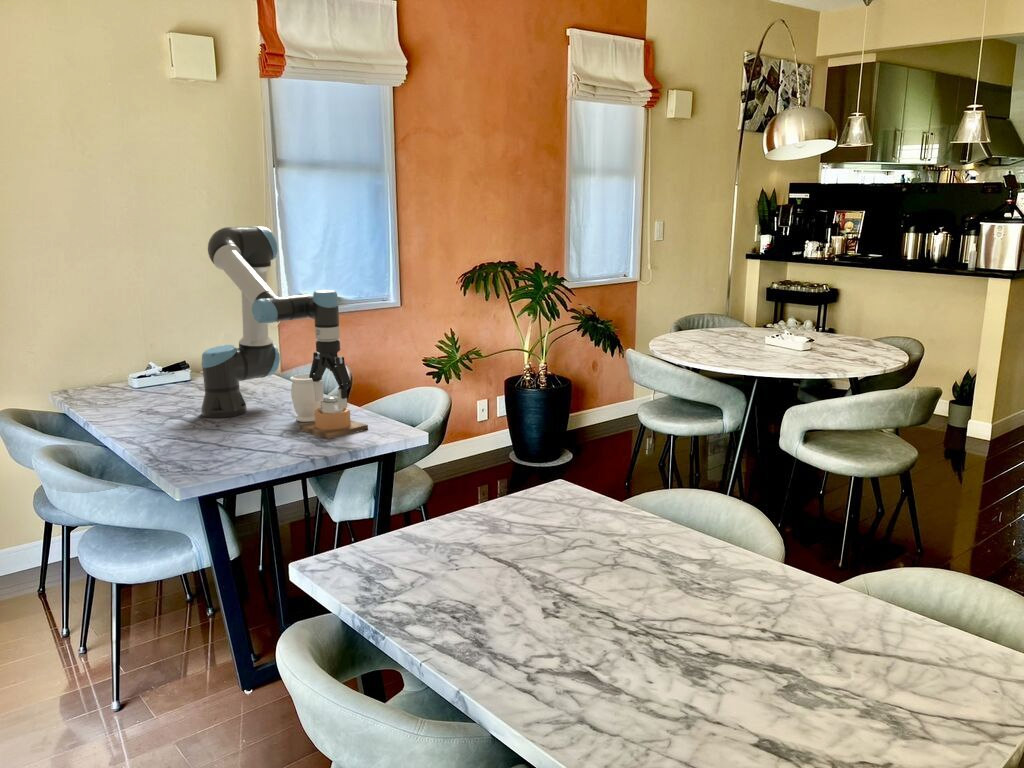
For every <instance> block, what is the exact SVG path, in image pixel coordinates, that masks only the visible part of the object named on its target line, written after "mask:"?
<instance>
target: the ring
mask: <svg viewBox="0 0 1024 768" xmlns="http://www.w3.org/2000/svg"><path fill="white" fill-rule="evenodd" d="M351 420H352V419H351V409H350V407H348V406H347V408H343V412H339V413H330V414H328V413H321V408H318V409H316V410H315V421H314V422H315V425H316V428H319V429H327V430H331V429H340V428H345V427H348V426H349V425H351Z"/></svg>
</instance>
